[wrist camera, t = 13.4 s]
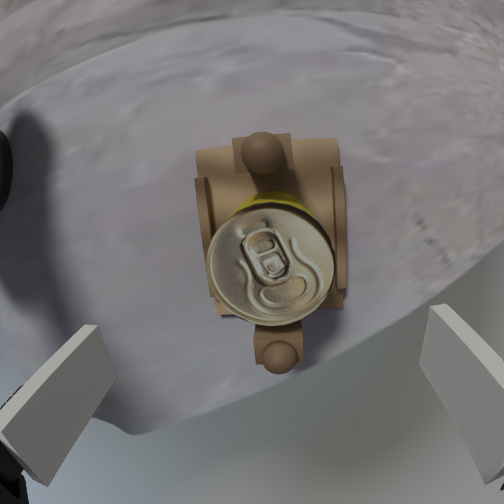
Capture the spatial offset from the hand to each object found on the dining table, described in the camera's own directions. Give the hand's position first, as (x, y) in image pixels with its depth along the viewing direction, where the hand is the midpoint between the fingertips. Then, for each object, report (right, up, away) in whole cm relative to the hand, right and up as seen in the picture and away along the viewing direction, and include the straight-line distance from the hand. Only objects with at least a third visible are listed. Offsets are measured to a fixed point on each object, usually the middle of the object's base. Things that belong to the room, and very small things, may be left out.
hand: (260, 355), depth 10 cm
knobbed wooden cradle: (+2, +6, +23) cm, 24 cm away
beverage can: (+2, +6, +22) cm, 23 cm away
